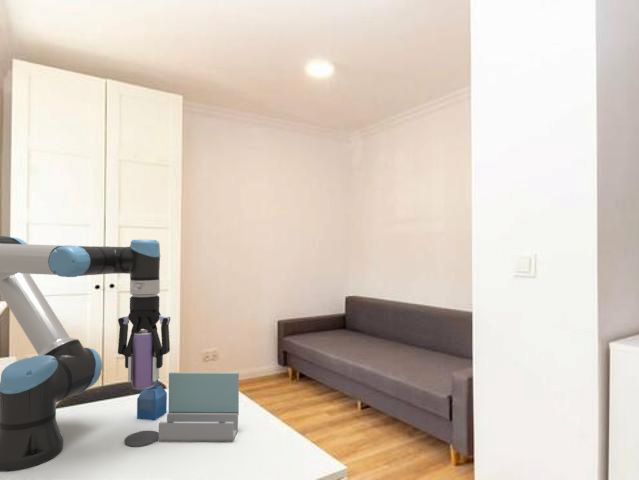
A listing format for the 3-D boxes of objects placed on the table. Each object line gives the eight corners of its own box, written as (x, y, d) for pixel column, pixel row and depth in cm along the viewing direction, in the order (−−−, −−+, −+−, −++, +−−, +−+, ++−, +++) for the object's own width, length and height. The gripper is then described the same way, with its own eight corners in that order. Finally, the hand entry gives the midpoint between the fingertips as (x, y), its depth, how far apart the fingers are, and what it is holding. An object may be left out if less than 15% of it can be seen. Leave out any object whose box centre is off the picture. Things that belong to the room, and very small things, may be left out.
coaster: (117, 447, 107) (117, 445, 107) (133, 431, 116) (133, 430, 116) (152, 447, 107) (152, 445, 107) (165, 432, 116) (165, 430, 116)
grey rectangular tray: (158, 441, 110) (158, 422, 110) (168, 430, 117) (168, 411, 117) (232, 442, 110) (232, 422, 110) (237, 430, 117) (238, 412, 117)
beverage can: (146, 390, 108) (147, 334, 108) (126, 389, 109) (127, 333, 110) (159, 383, 114) (160, 330, 114) (140, 382, 115) (141, 329, 115)
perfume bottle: (166, 412, 130) (167, 374, 130) (155, 420, 124) (155, 380, 124) (148, 411, 131) (149, 373, 131) (136, 419, 125) (137, 379, 125)
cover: (168, 373, 117) (170, 372, 118) (168, 415, 117) (169, 414, 118) (238, 373, 117) (239, 372, 118) (238, 415, 117) (238, 414, 118)
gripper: (103, 296, 109) (101, 384, 108) (174, 296, 108) (173, 384, 108) (117, 293, 116) (116, 375, 115) (183, 293, 116) (182, 375, 115)
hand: (143, 379), depth 112 cm, fingers closed on beverage can, 6 cm apart
